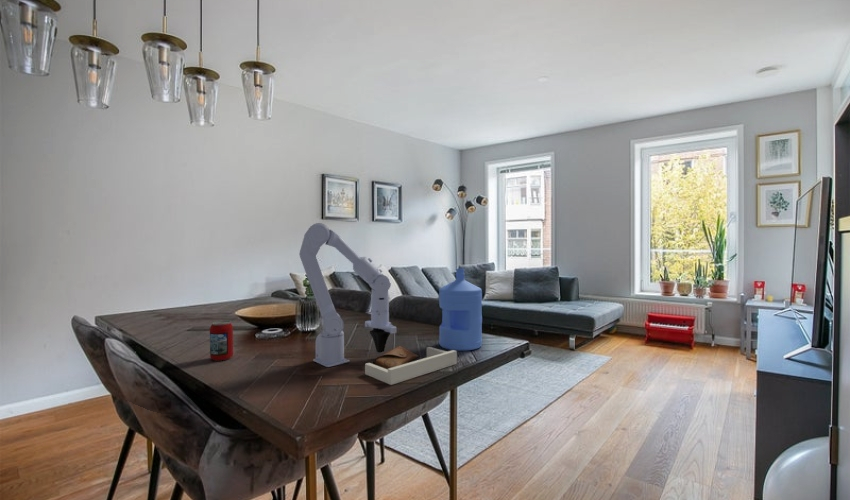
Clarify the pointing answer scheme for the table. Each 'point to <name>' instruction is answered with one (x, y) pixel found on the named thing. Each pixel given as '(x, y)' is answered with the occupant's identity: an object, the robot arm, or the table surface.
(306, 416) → the table surface
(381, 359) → the sunglasses case
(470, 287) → the water jug
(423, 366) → the cream tray
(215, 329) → the beverage can
